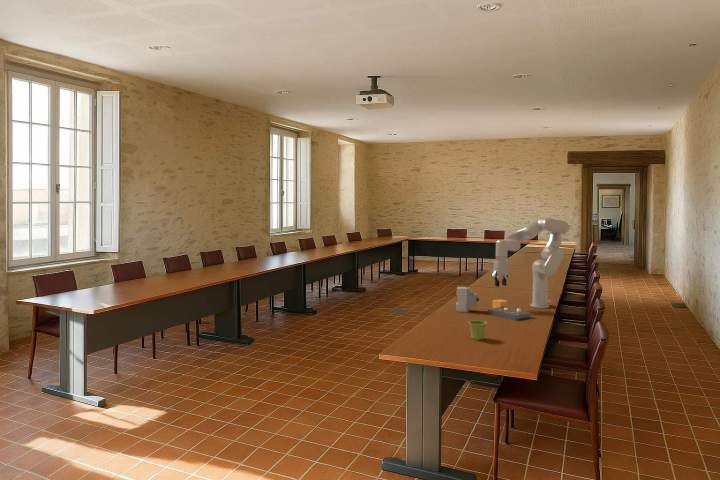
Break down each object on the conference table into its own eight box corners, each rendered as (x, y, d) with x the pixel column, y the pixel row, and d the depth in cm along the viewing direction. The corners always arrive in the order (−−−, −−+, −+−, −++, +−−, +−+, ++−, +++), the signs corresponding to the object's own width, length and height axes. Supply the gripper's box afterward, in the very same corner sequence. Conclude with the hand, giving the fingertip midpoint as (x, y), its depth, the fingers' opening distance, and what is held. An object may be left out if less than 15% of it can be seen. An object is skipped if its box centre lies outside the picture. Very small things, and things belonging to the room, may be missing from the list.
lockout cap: (499, 307, 367) (499, 299, 366) (507, 309, 361) (507, 300, 360) (492, 308, 363) (492, 300, 362) (500, 310, 357) (500, 302, 356)
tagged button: (505, 313, 348) (506, 307, 347) (508, 313, 346) (509, 308, 345) (503, 313, 346) (503, 308, 346) (506, 314, 344) (506, 308, 344)
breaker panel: (502, 311, 355) (503, 306, 354) (530, 317, 336) (530, 312, 336) (487, 313, 347) (487, 308, 346) (515, 320, 329) (515, 315, 328)
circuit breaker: (478, 312, 350) (479, 289, 348) (456, 311, 352) (456, 288, 351) (478, 310, 357) (479, 287, 356) (456, 309, 360) (456, 286, 358)
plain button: (518, 313, 339) (518, 308, 339) (521, 314, 337) (521, 309, 337) (515, 314, 338) (516, 308, 338) (519, 315, 336) (519, 309, 336)
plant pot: (466, 339, 284) (466, 323, 283) (470, 335, 293) (470, 319, 292) (484, 341, 280) (485, 325, 280) (488, 337, 289) (488, 321, 288)
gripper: (505, 257, 367) (505, 283, 368) (487, 258, 357) (487, 286, 359) (514, 258, 361) (513, 285, 362) (496, 260, 351) (496, 287, 353)
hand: (500, 285), depth 360 cm, fingers open, 6 cm apart
